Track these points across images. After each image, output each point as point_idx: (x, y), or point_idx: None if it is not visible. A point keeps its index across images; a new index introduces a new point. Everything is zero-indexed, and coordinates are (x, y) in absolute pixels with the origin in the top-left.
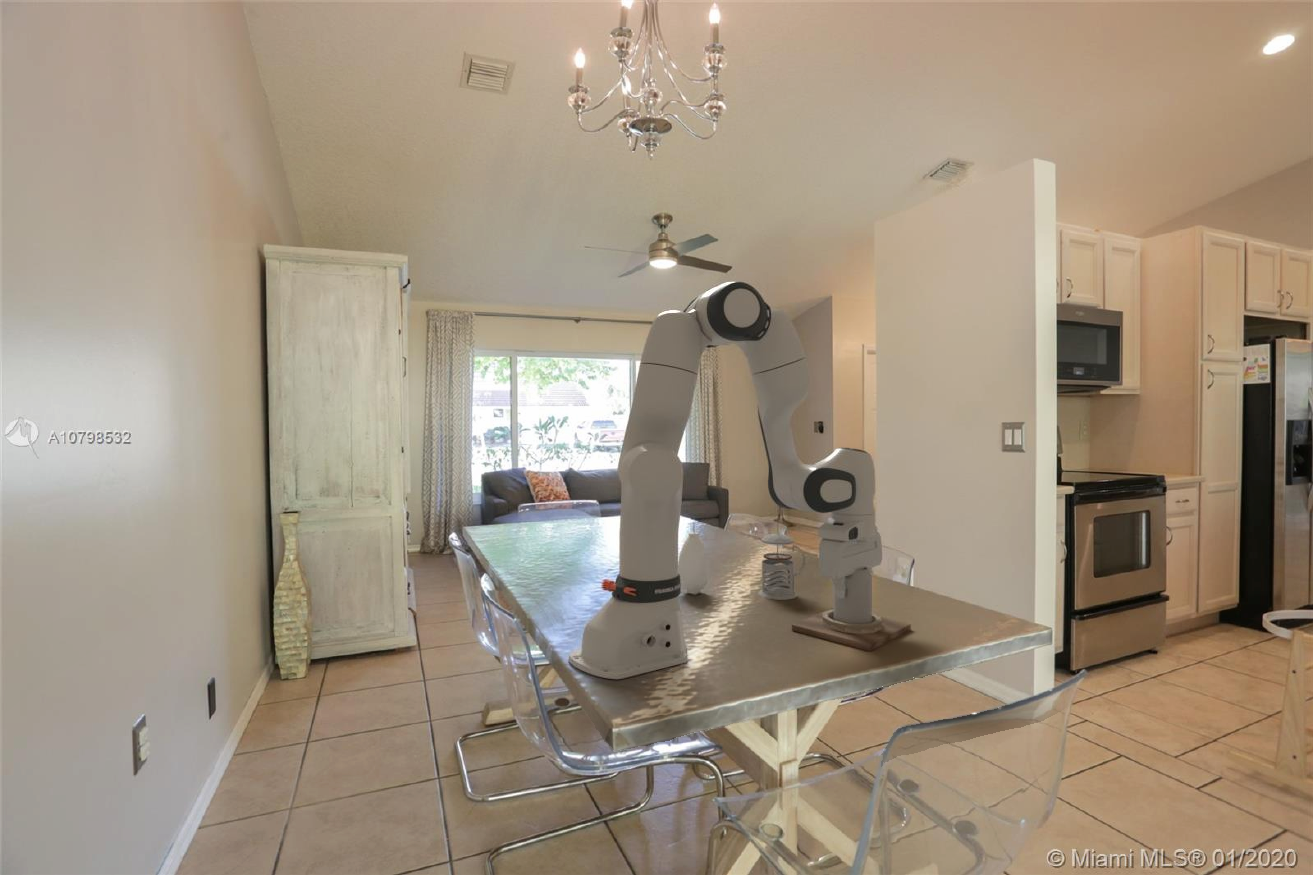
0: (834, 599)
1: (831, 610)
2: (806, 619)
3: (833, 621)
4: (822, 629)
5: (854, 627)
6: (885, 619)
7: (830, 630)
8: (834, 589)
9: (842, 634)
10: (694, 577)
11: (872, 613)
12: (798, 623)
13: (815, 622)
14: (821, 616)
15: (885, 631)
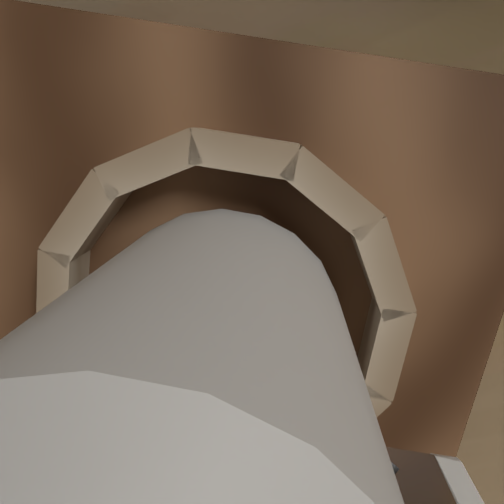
0: (91, 273)
1: (286, 160)
2: (130, 28)
3: (46, 265)
4: (16, 203)
5: None
6: (434, 436)
7: (33, 248)
8: (42, 309)
9: (15, 324)
10: None
11: (377, 411)
12: (13, 21)
13: (111, 111)
14: (266, 89)
15: None
